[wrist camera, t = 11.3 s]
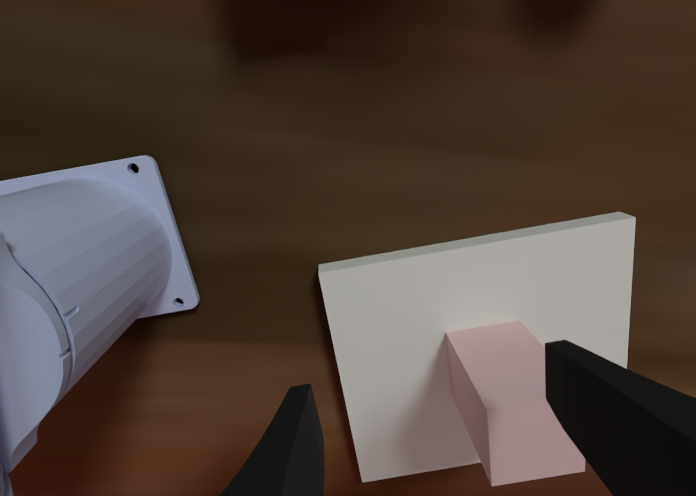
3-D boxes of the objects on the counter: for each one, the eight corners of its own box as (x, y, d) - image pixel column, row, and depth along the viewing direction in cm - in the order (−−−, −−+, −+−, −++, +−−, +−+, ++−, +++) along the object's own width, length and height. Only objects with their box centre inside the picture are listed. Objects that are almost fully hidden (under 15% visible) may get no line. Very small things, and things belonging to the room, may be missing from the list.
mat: (360, 466, 26) (362, 482, 25) (318, 264, 21) (318, 273, 20) (609, 424, 26) (622, 438, 25) (619, 211, 21) (635, 217, 20)
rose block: (451, 393, 23) (491, 486, 17) (445, 332, 22) (486, 410, 16) (521, 382, 23) (585, 471, 17) (519, 320, 22) (587, 394, 16)
